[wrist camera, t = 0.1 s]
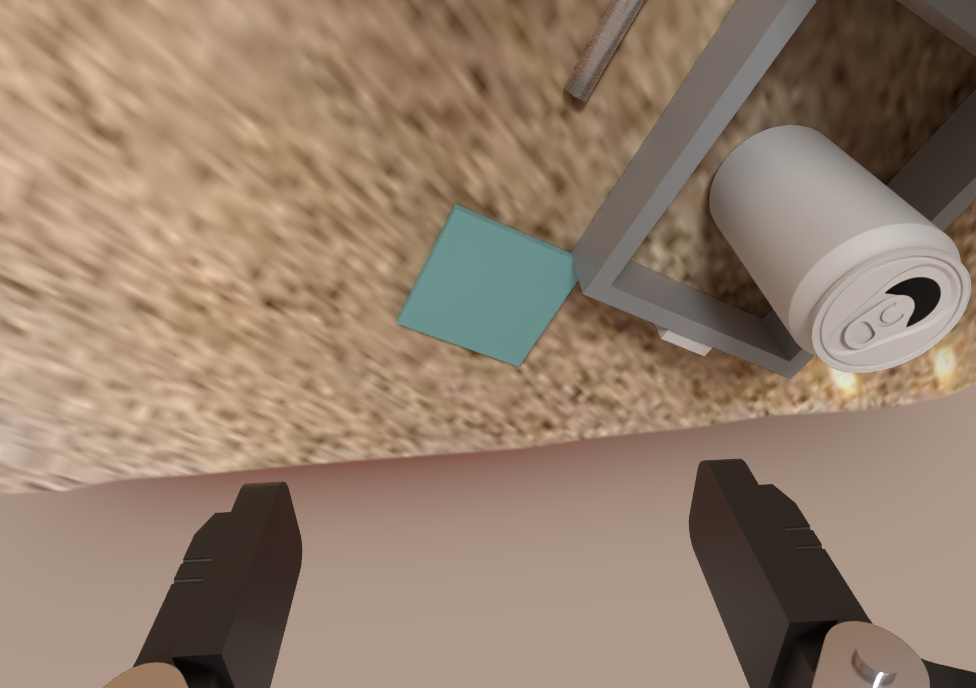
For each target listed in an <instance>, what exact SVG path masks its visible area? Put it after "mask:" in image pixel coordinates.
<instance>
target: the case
mask: <svg viewBox="0 0 976 688" xmlns="http://www.w3.org/2000/svg"><path fill="white" fill-rule="evenodd" d="M816 1H817V0H737V1H736V2H735V4H734V5H733V7H732V8H731V10H730V11H729V13H728V14H727V16H726V17H725V19H724V20H723V22H722V24H721V25H720V27H719V28H718V30H717V31H716V33H715V34H714V36H713V37H712V39H711V40H710V42H709V43H708V45H707V46H706V48H705V49H704V51H703V53H702V54H701V56H700V57H699V59H698V60H697V62H696V63H695V65H694V66H693V68H692V69H691V71H690V72H689V74H688V75H687V77H686V78H685V80H684V82H683V83H682V85H681V86H680V88H679V89H678V91H677V92H676V94H675V95H674V97H673V98H672V100H671V101H670V103H669V104H668V106H667V107H666V109H665V110H664V112H663V114H662V115H661V117H660V118H659V120H658V121H657V123H656V124H655V126H654V127H653V129H652V130H651V132H650V133H649V135H648V136H647V138H646V139H645V141H644V143H643V144H642V146H641V147H640V149H639V150H638V152H637V153H636V155H635V156H634V158H633V159H632V161H631V162H630V164H629V165H628V167H627V168H626V170H625V172H624V173H623V175H622V176H621V178H620V179H619V181H618V182H617V184H616V185H615V187H614V188H613V190H612V191H611V193H610V194H609V196H608V197H607V199H606V200H605V202H604V204H603V205H602V207H601V208H600V210H599V211H598V213H597V214H596V216H595V217H594V219H593V220H592V222H591V223H590V225H589V226H588V228H587V229H586V231H585V233H584V234H583V236H582V237H581V239H580V240H579V242H578V243H577V245H576V246H575V248H574V249H573V251H572V252H571V256H572V259H573V263H574V266H575V269H576V273H577V276H578V280H579V283H580V286H581V290H582V293H583V295H586V296H588V297H591V298H593V299H596V300H598V301H600V302H603V303H605V304H608V305H610V306H613V307H615V308H617V309H620V310H622V311H625V312H627V313H630V314H632V315H635V316H637V317H639V318H642V319H644V320H647V321H649V322H652V323H654V324H655V326H656V328H657V331H658V333H659V336H660V338H661V339H663V340H665V341H668V342H670V343H672V344H675V345H677V346H680V347H682V348H685V349H687V350H690V351H692V352H695V353H697V354H700V355H702V356H706V354H707V353H708V352H709V351H710V350H711V349H712V348H715V349H718V350H720V351H723V352H725V353H727V354H730V355H732V356H735V357H737V358H740V359H742V360H745V361H747V362H749V363H752V364H754V365H757V366H759V367H762V368H764V369H767V370H769V371H771V372H774V373H776V374H779V375H781V376H784V377H786V378H789V379H791V378H792V377H793V376H794V375H795V374H796V373H797V372H798V371H799V370H801V369H802V368H803V367H804V366H805V365H806V364H807V363H808V362H809V361H810V360H811V359H812V358H813V357H814V356H815V355H812V354H810V353H809V352H807V351H805V350H804V349H802V348H801V347H800V346H799V345H798V344H797V343H796V342H795V340H794V339H793V337H792V336H791V334H790V333H789V331H788V330H787V328H786V327H785V325H784V324H783V322H782V321H781V319H780V318H779V317H778V315H777V314H776V312H775V311H774V309H773V308H772V309H771V310H770V311H769V312H768V313H767V314H766V315H765V316H764V317H763V319H761V318H759V317H756V316H754V315H752V314H750V313H747V312H745V311H743V310H741V309H738V308H736V307H734V306H731V305H729V304H727V303H725V302H722V301H720V300H718V299H716V298H713V297H711V296H709V295H707V294H704V293H702V292H700V291H697V290H695V289H693V288H691V287H688V286H686V285H684V284H682V283H679V282H677V281H675V280H673V279H670V278H668V277H666V276H663V275H661V274H659V273H657V272H654V271H652V270H650V269H648V268H645V267H643V266H641V265H638V264H636V263H634V262H632V261H629V260H630V258H631V257H632V256H633V254H634V253H635V251H636V250H637V249H638V247H639V246H640V245H641V243H642V242H643V240H644V239H645V238H646V236H647V235H648V234H649V232H650V231H651V229H652V228H653V227H654V225H655V224H656V222H657V221H658V220H659V218H660V217H661V216H662V214H663V213H664V211H665V210H666V209H667V207H668V206H669V205H670V203H671V202H672V200H673V199H674V198H675V196H676V195H677V193H678V192H679V191H680V189H681V188H682V187H683V185H684V184H685V182H686V181H687V180H688V178H689V177H690V175H691V174H692V173H693V171H694V170H695V169H696V167H697V166H698V164H699V163H700V162H701V160H702V159H703V158H704V156H705V155H706V153H707V152H708V151H709V149H710V148H711V146H712V145H713V144H714V142H715V141H716V140H717V138H718V137H719V135H720V134H721V133H722V131H723V130H724V129H725V127H726V126H727V124H728V123H729V122H730V120H731V119H732V117H733V116H734V115H735V113H736V112H737V111H738V109H739V108H740V106H741V105H742V104H743V102H744V101H745V99H746V98H747V97H748V95H749V94H750V93H751V91H752V90H753V88H754V87H755V86H756V84H757V83H758V82H759V80H760V79H761V77H762V76H763V75H764V73H765V72H766V70H767V69H768V68H769V66H770V65H771V64H772V62H773V61H774V59H775V58H776V57H777V55H778V54H779V53H780V51H781V50H782V48H783V47H784V46H785V44H786V43H787V41H788V40H789V39H790V37H791V36H792V35H793V33H794V32H795V30H796V29H797V28H798V26H799V25H800V23H801V22H802V21H803V19H804V18H805V17H806V15H807V14H808V12H809V11H810V10H811V8H812V7H813V6H814V4H815V3H816ZM896 1H897V2H899V3H900V4H902V5H903V6H904V7H906V8H907V9H909V10H910V11H911V12H913V13H914V14H916V15H917V16H919V17H920V18H921V19H923V20H924V21H926V22H927V23H928V24H930V25H931V26H933V27H934V28H935V29H937V30H938V31H940V32H941V33H942V34H944V35H945V36H947V37H948V38H950V39H951V40H952V41H954V42H955V43H957V44H958V45H959V46H961V47H962V48H964V49H965V50H966V51H968V52H969V53H971V54H972V55H973V56H975V57H976V0H896ZM886 186H887V187H888V188H890V189H891V190H892V191H893V192H895V193H896V194H897V195H898V196H899V197H901V198H902V199H903V200H904V201H906V202H907V203H908V204H909V205H911V206H912V207H913V208H914V209H916V210H917V211H918V212H919V213H920V214H922V215H923V216H924V217H925V218H927V219H928V220H929V221H930V222H932V223H933V224H934V225H935V226H936V227H938V228H939V229H940V230H941V231H944V230H945V229H946V228H947V227H948V226H949V225H950V224H951V223H952V222H953V221H954V220H955V219H956V218H957V217H958V216H959V215H960V214H961V213H962V212H963V211H964V210H966V209H967V208H968V207H969V206H970V205H971V204H972V203H973V202H974V201H975V200H976V89H975V90H974V91H973V92H972V93H971V94H970V95H969V96H968V97H967V98H966V99H965V101H964V102H963V103H962V104H961V105H960V106H959V107H958V108H957V109H956V110H955V111H954V112H953V113H952V115H951V116H950V117H949V118H948V119H947V120H946V121H945V122H944V123H943V124H942V125H941V126H940V127H939V129H938V130H937V131H936V132H935V133H934V134H933V135H932V136H931V137H930V138H929V139H928V140H927V142H926V143H925V144H924V145H923V146H922V147H921V148H920V149H919V150H918V151H917V152H916V153H915V154H914V156H913V157H912V158H911V159H910V160H909V161H908V162H907V163H906V164H905V165H904V166H903V167H902V168H901V170H900V171H899V172H898V173H897V174H896V175H895V176H894V177H893V178H892V179H891V180H890V181H889V183H888V184H887V185H886Z"/></svg>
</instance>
